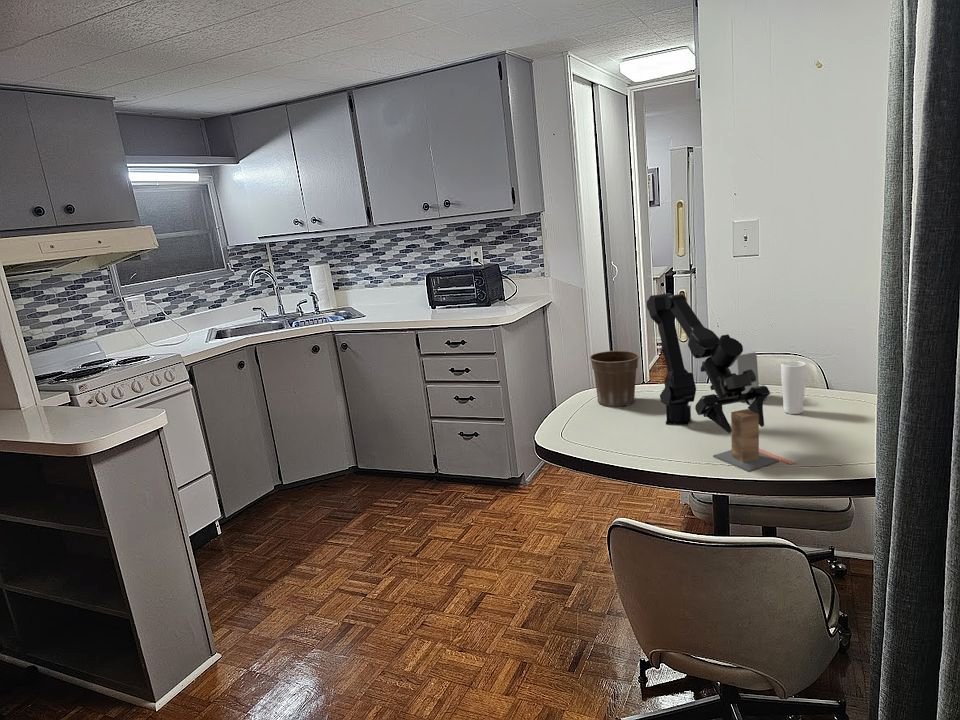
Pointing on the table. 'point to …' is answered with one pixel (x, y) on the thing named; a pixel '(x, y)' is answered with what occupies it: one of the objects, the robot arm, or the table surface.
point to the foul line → (776, 457)
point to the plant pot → (615, 377)
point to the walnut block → (745, 435)
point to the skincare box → (746, 366)
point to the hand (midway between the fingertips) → (746, 429)
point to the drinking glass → (793, 386)
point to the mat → (748, 465)
